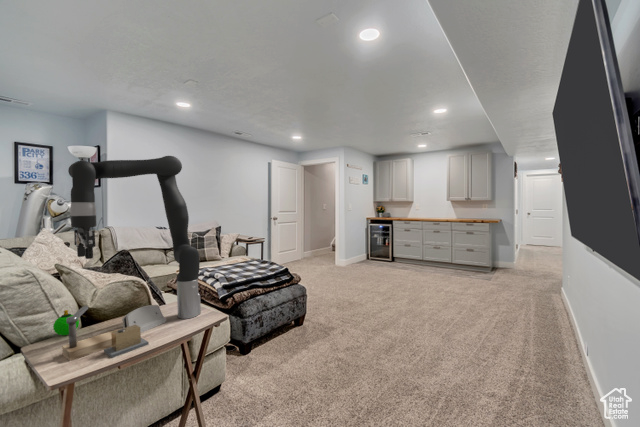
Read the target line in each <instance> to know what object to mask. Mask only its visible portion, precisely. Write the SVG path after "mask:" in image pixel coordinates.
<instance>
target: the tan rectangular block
mask: <svg viewBox="0 0 640 427" xmlns="http://www.w3.org/2000/svg"><path fill="white" fill-rule="evenodd" d="M122 328H123V327H122ZM119 329H120V328H119ZM115 330H116V331H114V330H112V331H113V332H111V335H112V349H113V350H115V351H116V352H117V351H119V350H122V349H125V348H128V347H131V346H133V345H136V344H139V343H141V338H142V337H141V335H142V333H141V331H140V327H139V326H137V325H133V326H129V327H126V328H123V329H120V330H117V329H115Z"/></svg>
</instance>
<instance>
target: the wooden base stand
mask: <svg viewBox="0 0 640 427" xmlns="http://www.w3.org/2000/svg"><path fill="white" fill-rule="evenodd" d="M120 329H123V327H120V328H117V329H114V330H111V331H108V332H105V333H101V334H98V335H95V336H91V337H88V338H85V339H82V340H78V341H77V338H78V337H77V329H76V322H75V323H70V324H69V335H68V341H69V342H68V344H64V345H62V355H63V356H64V358H66V359H67V360H68V361H69V362H72V361H74V360H77V359H81V358H83V357H86V356H89V355H92V354H95V353H98V352H100V351H101V352H102V351H104V349H107V348H110V347H112V335H111V332H113V331H116V330H120Z"/></svg>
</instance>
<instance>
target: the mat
mask: <svg viewBox="0 0 640 427" xmlns="http://www.w3.org/2000/svg"><path fill="white" fill-rule="evenodd" d="M148 345H149V341H147V340H146V339H145V338H142V337H141V343H139V344H136V345H133V346H131V347H128V348H125V349H122V350H119V351H117V352H116V351H115V350H113V349H112V347H110V348H107V349H104V350H103V353H104V354H106V356H109V357H110V358H112V359H113V358H115V357H119V356H121V355H124V354H127V353H128V352H133V351H135V350H137V349H140V348H142V347H145V346H148Z"/></svg>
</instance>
